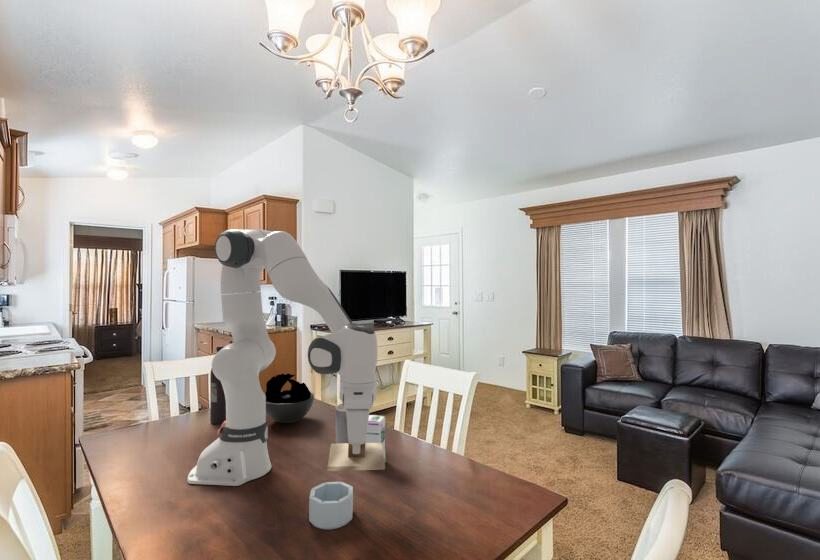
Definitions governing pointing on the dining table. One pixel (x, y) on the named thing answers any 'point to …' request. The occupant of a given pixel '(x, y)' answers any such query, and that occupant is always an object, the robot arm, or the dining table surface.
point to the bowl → (331, 505)
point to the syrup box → (376, 431)
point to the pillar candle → (341, 424)
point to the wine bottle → (217, 398)
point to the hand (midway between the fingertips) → (356, 448)
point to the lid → (356, 457)
